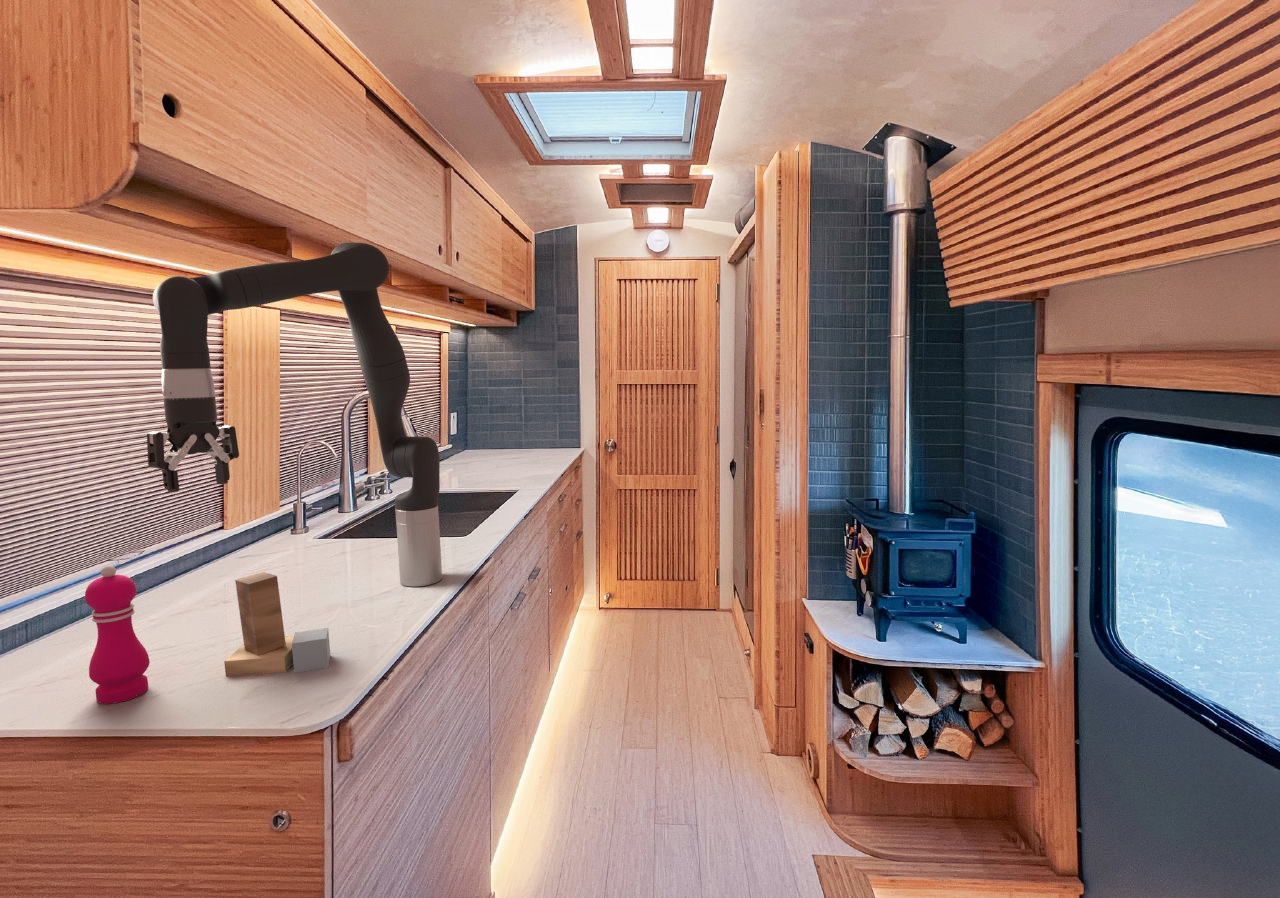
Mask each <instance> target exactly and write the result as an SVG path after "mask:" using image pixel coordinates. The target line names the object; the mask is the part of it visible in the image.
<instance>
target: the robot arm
mask: <svg viewBox="0 0 1280 898" xmlns="http://www.w3.org/2000/svg"><path fill="white" fill-rule="evenodd" d="M389 272H390V264H389V261H388V259H387V257H386V255H385V254H384V252H383V251H382V250H381V249H379V248H377V247H376V246H375V245H372V244H369V243H365V242H343V243H340V244H337V246H336V247H334V248H333V250H332V251H331V253H330V254H329V255H326V256H325V255H324V256H321V257H316V258H311V259H305V260H304V259H302V260H294V261H282V262H270V263H269V262H268V263H260V264H259V263H258V264H253V265H251V264H250V265H246V266H240V267H239V266H238V267H234V268H227V269H224V270H220V271H217V272H215V273H212V274H208V275H201V276H195V277H188V276H184V275H172V276H170V277H167V278H166V279H163V280H162V281H161V282H160V283H159V284H158V285H157V286H156V288H155V289H154V291H153V293H152V303H153V307H154V308H155V309H156V310H157V312H158V313H159V320H160V321H159V322H160V329H161V336H160V337H161V338H160V341H159V342H160V343H159V351H160V352H159V353H160V361H161V362H160V363H161V369H162V370H161V372H162V373H161V390H162V391H161V392H162V398H163V408H164V416H165V417H164V418H165V419H164V420H165V422H166V424H167V430H166V432H159V431H156V432H155V431H149V432H147V434H146V442H147V443H146V446H147V447H146V448H147V450H146V451H147V466H148V467H149V468H152V469H153V468H154V469H158V470H160V471H161V472H162V481H163V482H162V483H163V487H164V489H165V490H167V491H168V492H169V493H178V492H179V491H180V484H179V483H180V482H179V474H178V470H177V469H176V468H177V467H178V466H179V464H180V462H181V461H182V460H183V459H185V457H186V456H187V455H190V456H191V455H196V454H201V453H202V454H205V453H206V454H207V455H209V456H210V457H211V458H212V459H213V460H214V461H215V462H216V463H214V471H215V481H216V484H218V485H226V484H228V483H229V480H230V478H231V476H230V475H231V474H230V465H229V463H230V461H232V460H234V459H238V458H239V456H240V452H239V445H238V444H239V443H238V437H237V433H236V432H237V431H236V427H235V426H234V425H222V426H220V427H218V425H217V420H218V412H217V411H218V410H217V403H216V402H217V401H216V391H215V382H214V377H213V374H212V370H211V369H212V368H211V357H210V349H209V344H208V323H209V321H208V320H209V319H208V318H209V317H208V316H209V315H210V316H211V315H214V314H218V313H221V312H226V311H231V310H233V311H234V310H242V309H249V308H253V307H259V306H263V305H268V304H273V303H276V302H281V301H286V300H291V299H294V298H299V297H303V296H309V295H315V294H321V293H322V294H323V293H327V292H329V293H330V292H336V291H337V292H338V295H339V297H340V301H341V302H342V305H343V308H344V310H345V313H346V316H347V320H348V323H349V327H350V332H351V336H352V340H353V342H354V343H353V344H354V346H355V351H356V354H357V358H358V363H359V366H360V369H361V373H362V377H363V380H364V382H365V386H366V389H367V392H368V395H369V400H370V404H371V406H372V411H373V415H374V419H375V423H376V428H377V435H378V439H379V444H380V445H379V446H380V451H381V456H382V461H383V463H384V466H385V468H386V470H387V472H388V473H389V474H390V475H391V476H394V477H397V478H398V477H399V478H411V479H412V482H411V488H410V489H409V490H407V491H404V492H402V493H399V494H397V495H396V496H395V498H394V510H395V523H396V536H397V537H396V538H397V540H396V541H397V552H398V567H399V582H400V585H402V586H405V587H422V586H423V587H425V586H430V585H433V584H436V583H438V582H440V581H442V580H441V579H443V570H442V569H443V567H442V549H441V532H440V517H439V515H440V514H439V495H440V485H441V483H440V482H441V480H440V476H441V475H440V469H441V468H440V467H441V466H440V452H439V447H438V444H437V443H436V441H435V440H434V439H433V438H431V437H429V436H407V434H406V433H405V432H406V431H405V429H404V426H403V419H402V411H403V406H404V403H405V401H406V397H407V394H408V392H409V389H410V384H411V375H410V370H409V366H408V362H407V358H406V356H405V351H404V349H403V345H402V344H401V342H400V340H399V338H398V336H397V334H396V332H395V330H394V329H393V327H392V325H391V323H390V322H389V320H388V318H387V317H386V315H385V313H384V310H383V307H382V304H381V301H380V297H379V293H378V288H380V287H381V286H382V285H383V284H384V283H385V282H386V281H387V278H388V277H389ZM218 437H220V438H221V442H222V446H221V445H220V443H219V442H217V439H218ZM167 441H168V442H169V443H170V444H171V445H169V448H168V449H167V451H166V453H165V446H164V445H166V443H167Z"/></svg>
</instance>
